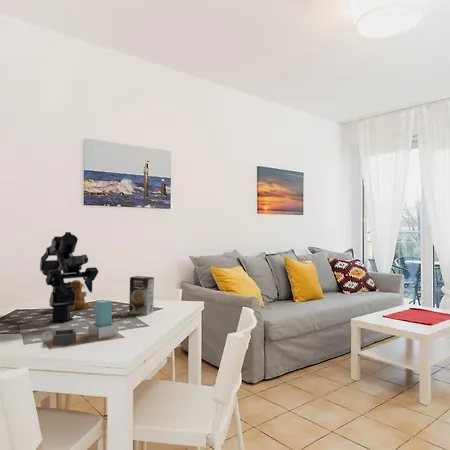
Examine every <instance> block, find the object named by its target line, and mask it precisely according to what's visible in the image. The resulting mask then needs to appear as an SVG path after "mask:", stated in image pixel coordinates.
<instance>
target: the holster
mask: <svg viewBox="0 0 450 450" xmlns="http://www.w3.org/2000/svg"><path fill="white" fill-rule="evenodd" d="M76 335H77V333H76V328H68V329H67V328H66V329H57V330H52V338H53V345H62V344H72V343H76Z"/></svg>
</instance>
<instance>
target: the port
mask: <svg viewBox="0 0 450 450" xmlns="http://www.w3.org/2000/svg"><path fill="white" fill-rule="evenodd" d="M88 333H89V334H88V336H91V337H93V338H95V339H98V340H101V339H105V338H110V337H115V336H118V333H119V324H118V323H115V322H112V325H108V326H103V327H98V326H96V325H95V322H92V323H88Z"/></svg>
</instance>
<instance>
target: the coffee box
mask: <svg viewBox="0 0 450 450" xmlns="http://www.w3.org/2000/svg"><path fill="white" fill-rule="evenodd" d="M154 286H155V277H154V276H142V275H141V276H140V275H139V276H138V275H135V276H131V277H129V303H128V304H129V311H128V313H129V314H130V315H131V314H132V315H142V316H144V315H145V316H148V315H151V314H153V313H154V297H155V296H154V293H155V290H154V288H155V287H154Z"/></svg>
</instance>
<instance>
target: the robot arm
mask: <svg viewBox="0 0 450 450" xmlns="http://www.w3.org/2000/svg"><path fill="white" fill-rule="evenodd" d="M77 245H78V237H77V236H76V235H74V234H72V233H71V231H66V232H64V235H62V236H55V235H54V237H53V238H52V239H51V245H50V246H48V247H46V249H45V253H43V255H42V256H41V257H40V262H39V263H40V264H39V271H40V272H41V273H42V275H43V276H46V278H45V284H46V285H47V286H50V287H52V290H51V291H52V292H50V297H49V300H48V301H49V307H51V308H52V319H50V320H49V322H51V323H60V324H64V323H67V322H69V321H73V319H74V318H73V317H71V311H70V305H74V301H75V296H76V294H75V292H74V290H73V289H72V287H71V284H70V283H68V282H65V280H64V279H79V278H80V279H81V278H82V279H83V281H84V286H85V288H86V289H87V290H88V291H89V293H92V292H93V282H94V280H95V279H96V278H97V276H98V274H99V270H98V268H97V267H94V266H93V267H92V266H91V267H86V268H85V271H81V270H82V268H83V267H82V266H83V265H85V264H87V263H88V262H89V257H88V256H87V254H81V255H74V253H75V250H76V247H77ZM52 256H53V257H56V259H54V260H53V259H52V260H51V259H50V260H47V259H48V258H49V257H52Z"/></svg>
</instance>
